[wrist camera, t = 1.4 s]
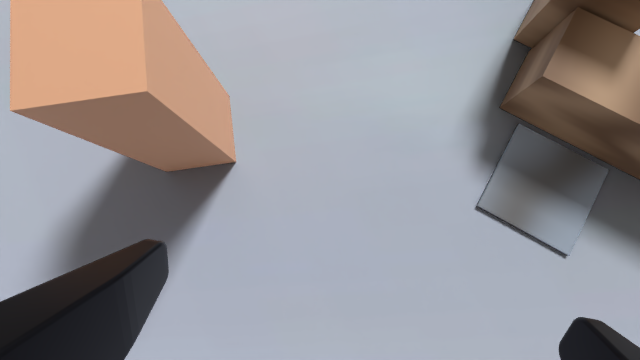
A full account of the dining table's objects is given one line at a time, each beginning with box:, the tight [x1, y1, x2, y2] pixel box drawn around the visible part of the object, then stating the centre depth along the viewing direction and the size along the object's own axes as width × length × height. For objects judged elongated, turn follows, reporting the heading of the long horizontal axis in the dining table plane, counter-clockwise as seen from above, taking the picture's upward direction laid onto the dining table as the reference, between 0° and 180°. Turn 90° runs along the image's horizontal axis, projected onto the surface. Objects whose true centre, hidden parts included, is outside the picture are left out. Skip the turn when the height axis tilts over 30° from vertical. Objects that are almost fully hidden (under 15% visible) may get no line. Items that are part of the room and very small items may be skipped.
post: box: [10, 0, 236, 172], centre depth 17 cm, size 4×4×11 cm
